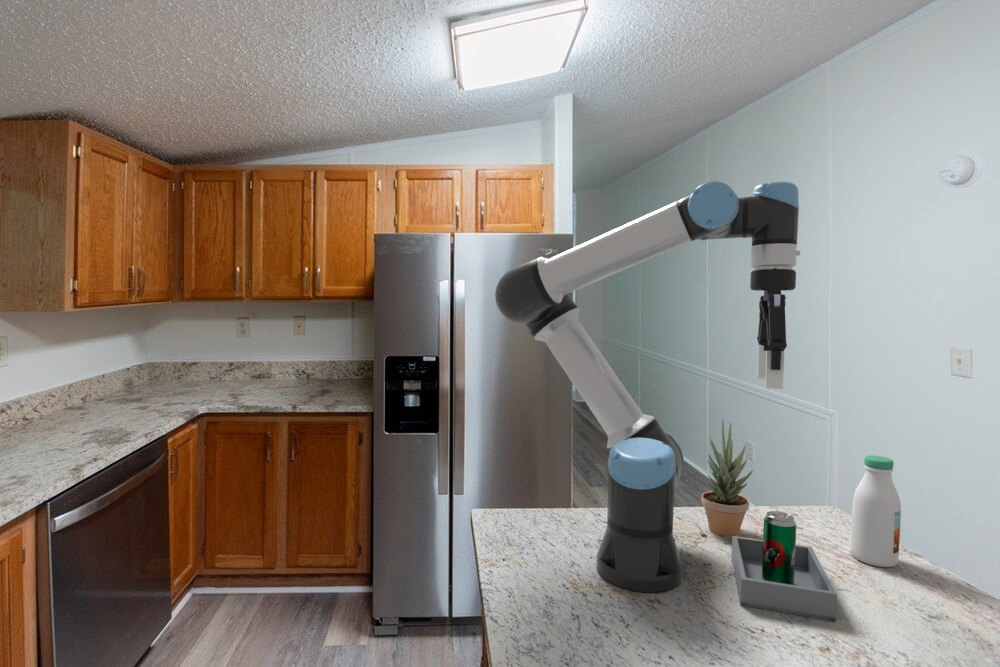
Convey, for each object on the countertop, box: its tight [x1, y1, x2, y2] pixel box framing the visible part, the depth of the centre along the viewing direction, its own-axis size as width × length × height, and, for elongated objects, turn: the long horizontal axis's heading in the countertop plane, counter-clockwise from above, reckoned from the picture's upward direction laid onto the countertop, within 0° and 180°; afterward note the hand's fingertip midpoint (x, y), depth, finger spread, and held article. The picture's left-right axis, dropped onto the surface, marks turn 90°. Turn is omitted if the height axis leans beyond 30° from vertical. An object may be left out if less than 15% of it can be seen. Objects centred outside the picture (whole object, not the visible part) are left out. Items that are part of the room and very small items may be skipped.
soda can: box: [762, 510, 797, 585], centre depth 95 cm, size 5×5×12 cm
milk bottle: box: [850, 455, 902, 568], centre depth 105 cm, size 8×8×20 cm
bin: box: [730, 535, 838, 622], centre depth 95 cm, size 14×18×4 cm
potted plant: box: [701, 418, 754, 537], centre depth 118 cm, size 10×10×25 cm
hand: (769, 383), depth 102 cm, fingers open, 13 cm apart
